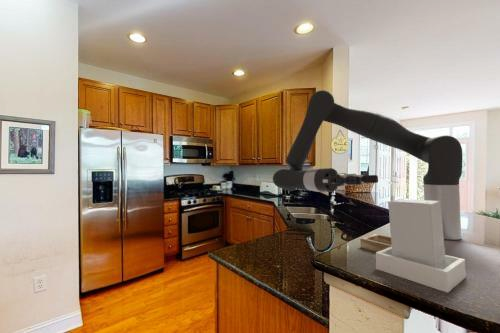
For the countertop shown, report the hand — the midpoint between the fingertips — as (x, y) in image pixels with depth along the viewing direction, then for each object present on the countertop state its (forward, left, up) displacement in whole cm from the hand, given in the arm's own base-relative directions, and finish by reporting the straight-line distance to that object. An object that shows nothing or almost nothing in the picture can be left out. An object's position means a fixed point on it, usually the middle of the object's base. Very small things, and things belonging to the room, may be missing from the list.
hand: (369, 179), depth 63 cm
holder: (-6, +2, -20) cm, 21 cm away
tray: (+5, +13, -20) cm, 24 cm away
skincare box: (+4, +12, -19) cm, 23 cm away
